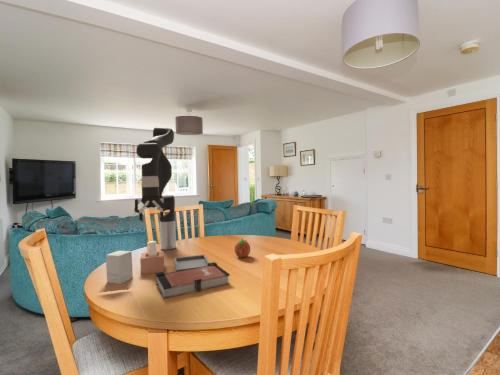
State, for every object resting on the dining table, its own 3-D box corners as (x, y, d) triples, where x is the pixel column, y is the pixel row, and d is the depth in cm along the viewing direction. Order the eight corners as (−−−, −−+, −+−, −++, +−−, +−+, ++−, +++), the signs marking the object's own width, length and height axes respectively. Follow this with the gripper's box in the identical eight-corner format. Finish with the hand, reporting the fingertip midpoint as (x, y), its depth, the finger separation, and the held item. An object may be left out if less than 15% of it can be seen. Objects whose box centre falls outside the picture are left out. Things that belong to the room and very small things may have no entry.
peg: (148, 268, 130) (147, 241, 130) (157, 267, 132) (156, 240, 131) (148, 271, 127) (147, 243, 126) (157, 270, 128) (156, 242, 127)
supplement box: (133, 279, 119) (132, 251, 118) (120, 286, 112) (119, 255, 111) (120, 278, 121) (118, 250, 121) (106, 284, 114) (105, 254, 114)
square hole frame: (142, 269, 132) (141, 253, 132) (164, 266, 135) (163, 250, 135) (141, 276, 123) (140, 258, 123) (164, 273, 126) (163, 256, 126)
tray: (174, 262, 142) (173, 257, 142) (204, 259, 147) (204, 254, 147) (176, 275, 123) (175, 270, 123) (211, 270, 128) (211, 265, 128)
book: (164, 301, 99) (163, 287, 98) (155, 284, 114) (155, 273, 114) (230, 285, 111) (230, 273, 111) (214, 272, 126) (214, 262, 126)
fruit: (231, 258, 146) (231, 240, 146) (239, 253, 155) (238, 236, 155) (246, 260, 143) (246, 241, 143) (253, 255, 152) (252, 237, 151)
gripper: (166, 185, 134) (167, 218, 134) (134, 186, 129) (135, 220, 130) (166, 185, 126) (167, 220, 127) (133, 186, 122) (134, 222, 122)
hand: (151, 220), depth 128 cm, fingers open, 8 cm apart
